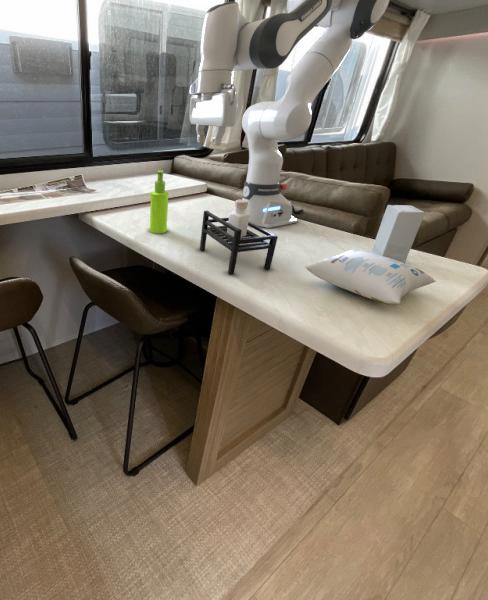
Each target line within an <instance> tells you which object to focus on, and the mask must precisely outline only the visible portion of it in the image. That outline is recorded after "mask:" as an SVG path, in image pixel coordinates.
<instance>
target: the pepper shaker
mask: <svg viewBox="0 0 488 600" xmlns="http://www.w3.org/2000/svg"><path fill="white" fill-rule="evenodd" d="M247 206H248V201H247V200H242V198H241V199H235V202H234V210H233V211H232V212H230V213H229V215H228V218H229V221H227V222H228V223H229V224H231V225H233V226H234V227H236V228H238V229H241V230H242V232H241V237H243V236H246V233H247V229H248V227H249V226H248V222H249V216H250V215H249V214H248V213H246V210H247ZM227 233H228V234H230V235H231V236H233V237H234V231H233V230H231V229H229V228H227ZM243 238H244V237H243Z"/></svg>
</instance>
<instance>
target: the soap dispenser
mask: <svg viewBox="0 0 488 600" xmlns="http://www.w3.org/2000/svg"><path fill="white" fill-rule="evenodd" d="M149 207H150V210H149V211H150V213H149V231H150V233H153V234H164V233H166V232H167V228H168V227H167V225H168V208H169V192H168V191H166V181H165V180H164V169H157V180H155V181H154V191H151V192H150V206H149Z"/></svg>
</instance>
